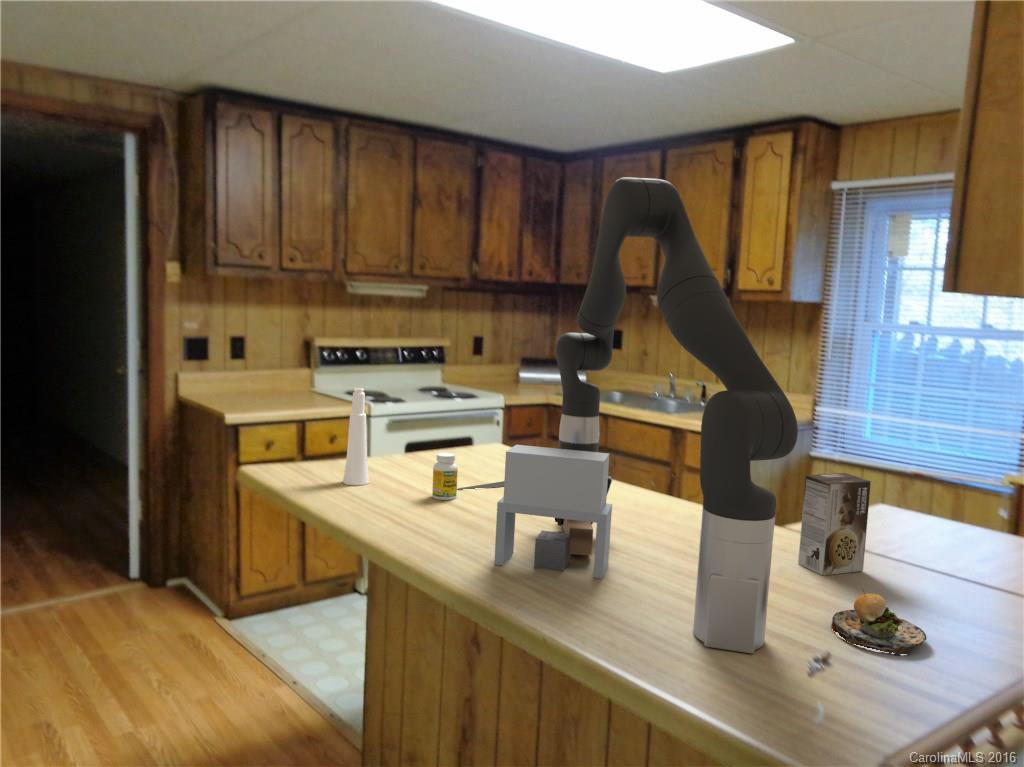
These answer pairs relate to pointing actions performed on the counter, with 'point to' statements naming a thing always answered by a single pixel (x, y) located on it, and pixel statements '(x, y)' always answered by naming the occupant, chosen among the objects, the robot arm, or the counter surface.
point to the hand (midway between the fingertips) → (573, 525)
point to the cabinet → (555, 494)
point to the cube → (552, 550)
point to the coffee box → (834, 523)
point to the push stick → (579, 536)
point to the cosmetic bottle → (357, 443)
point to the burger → (876, 626)
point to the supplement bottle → (445, 477)
